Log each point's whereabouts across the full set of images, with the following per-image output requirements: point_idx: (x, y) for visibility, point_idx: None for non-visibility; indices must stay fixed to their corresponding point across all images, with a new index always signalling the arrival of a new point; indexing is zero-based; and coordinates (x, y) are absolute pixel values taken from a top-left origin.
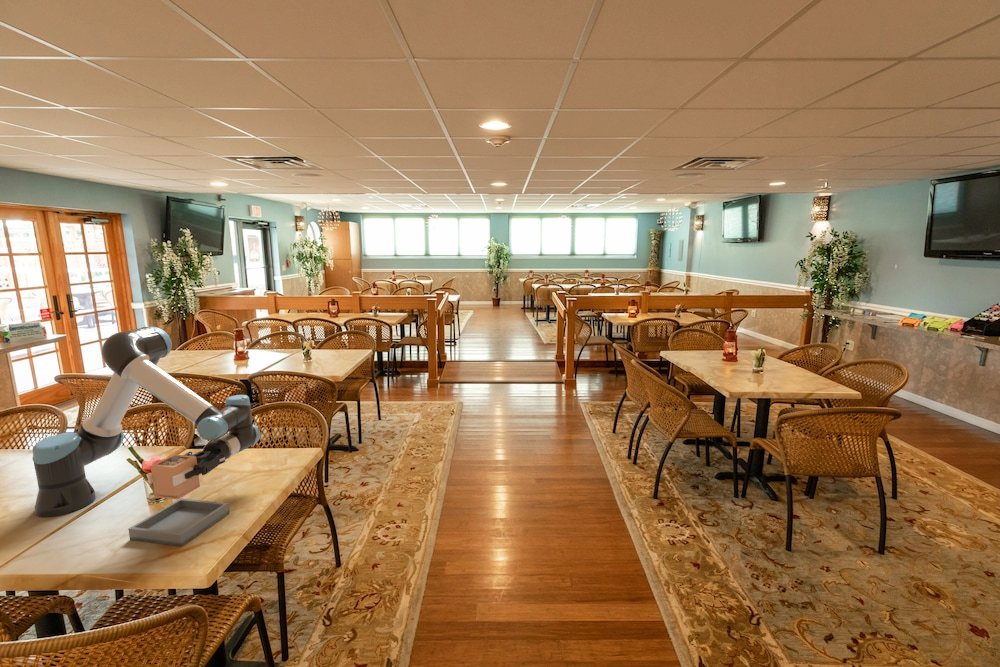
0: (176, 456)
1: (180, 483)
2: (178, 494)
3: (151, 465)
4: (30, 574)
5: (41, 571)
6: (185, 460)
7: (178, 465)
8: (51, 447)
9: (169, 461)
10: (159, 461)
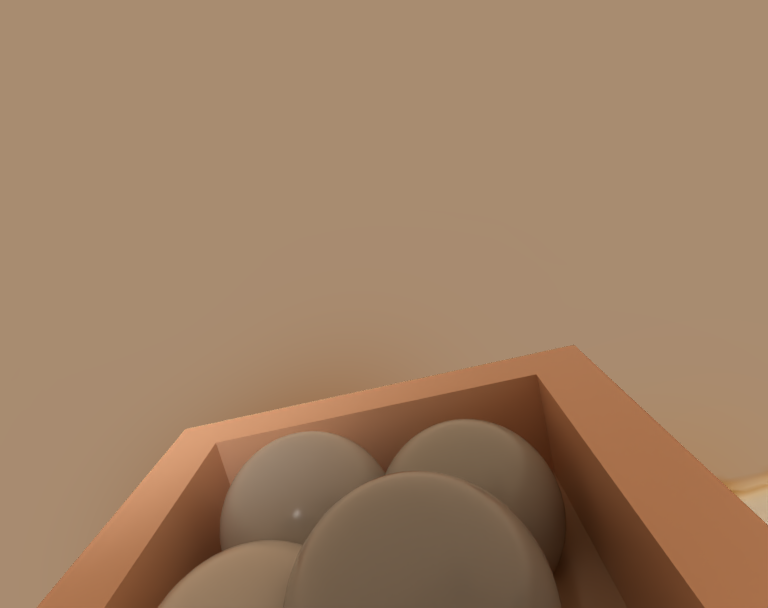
0: (342, 499)
1: None
2: None
3: (562, 348)
4: (762, 485)
5: (753, 502)
6: (81, 602)
7: (151, 478)
8: None
9: (428, 467)
10: (632, 405)
